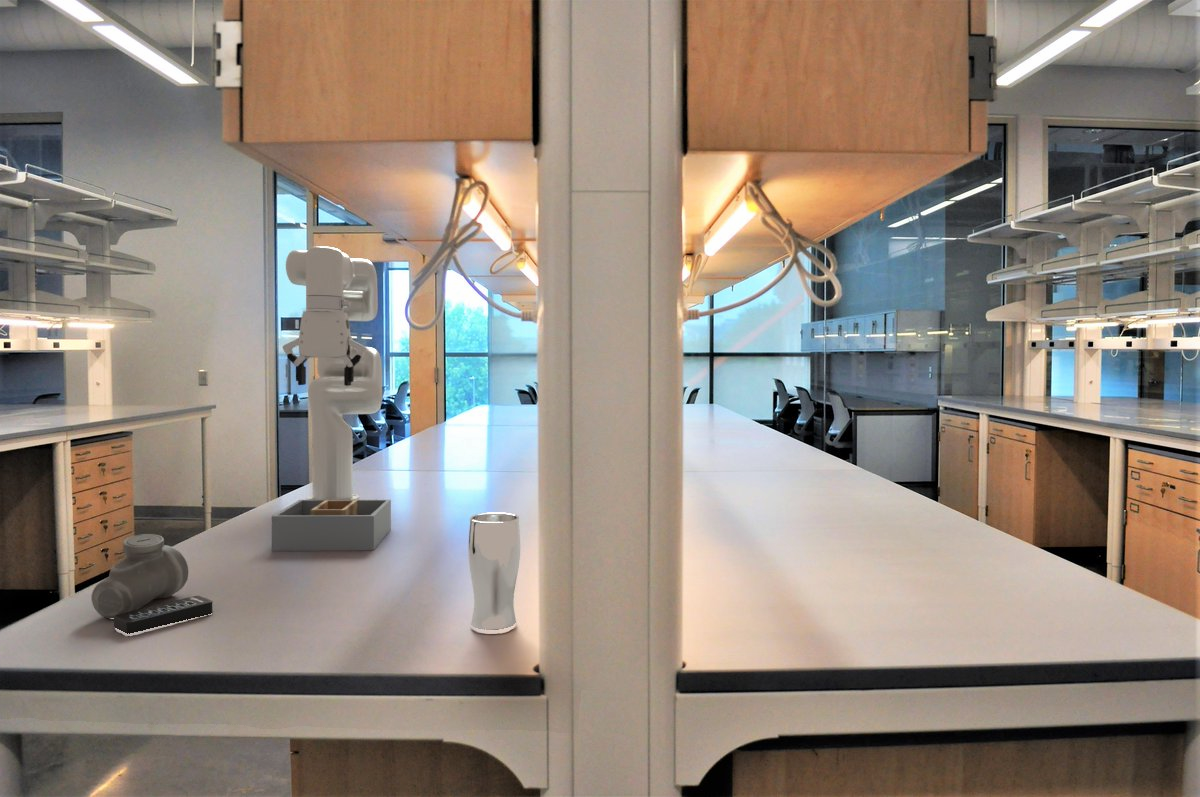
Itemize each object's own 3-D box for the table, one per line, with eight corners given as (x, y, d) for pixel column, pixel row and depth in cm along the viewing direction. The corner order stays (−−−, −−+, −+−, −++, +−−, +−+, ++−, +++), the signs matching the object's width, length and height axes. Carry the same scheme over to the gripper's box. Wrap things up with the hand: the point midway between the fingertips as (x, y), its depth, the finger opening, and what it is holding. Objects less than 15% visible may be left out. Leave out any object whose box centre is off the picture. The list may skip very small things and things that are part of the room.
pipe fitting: (140, 589, 112) (139, 525, 111) (190, 596, 112) (190, 531, 110) (78, 626, 101) (76, 555, 99) (135, 633, 100) (133, 562, 98)
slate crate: (299, 530, 154) (299, 499, 154) (390, 530, 156) (390, 499, 156) (271, 550, 138) (271, 516, 138) (373, 550, 140) (373, 516, 139)
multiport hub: (112, 632, 97) (112, 615, 97) (197, 610, 106) (197, 594, 106) (128, 640, 94) (127, 622, 94) (213, 617, 103) (213, 600, 103)
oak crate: (325, 529, 152) (325, 500, 151) (357, 529, 152) (357, 500, 152) (310, 540, 142) (310, 509, 141) (345, 540, 142) (345, 509, 142)
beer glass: (515, 637, 97) (517, 523, 96) (462, 635, 97) (463, 522, 96) (522, 618, 104) (523, 512, 103) (473, 617, 104) (473, 511, 103)
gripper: (369, 307, 164) (369, 385, 164) (289, 306, 162) (289, 384, 163) (361, 305, 156) (361, 386, 157) (277, 303, 155) (277, 385, 155)
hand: (324, 385), depth 160 cm, fingers open, 9 cm apart
